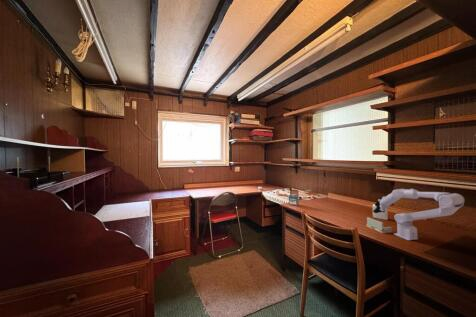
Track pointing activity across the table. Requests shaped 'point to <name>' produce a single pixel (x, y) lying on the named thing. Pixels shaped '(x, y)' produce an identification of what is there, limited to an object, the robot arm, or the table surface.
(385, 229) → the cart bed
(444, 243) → the table surface
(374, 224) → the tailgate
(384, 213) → the photo printer
